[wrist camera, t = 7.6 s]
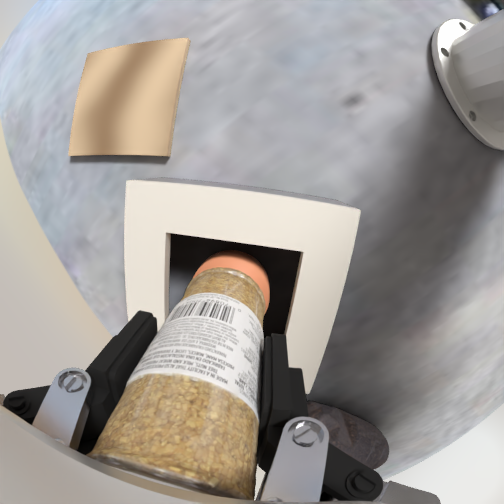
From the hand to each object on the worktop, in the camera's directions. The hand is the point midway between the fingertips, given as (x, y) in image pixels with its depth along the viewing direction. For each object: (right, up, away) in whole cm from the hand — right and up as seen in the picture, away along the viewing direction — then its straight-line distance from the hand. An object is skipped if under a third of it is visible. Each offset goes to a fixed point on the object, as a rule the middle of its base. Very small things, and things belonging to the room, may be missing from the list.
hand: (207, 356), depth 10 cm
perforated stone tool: (+11, -13, +13) cm, 22 cm away
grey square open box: (+1, +3, +9) cm, 9 cm away
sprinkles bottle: (0, +1, +5) cm, 5 cm away
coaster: (-8, +16, +6) cm, 18 cm away
